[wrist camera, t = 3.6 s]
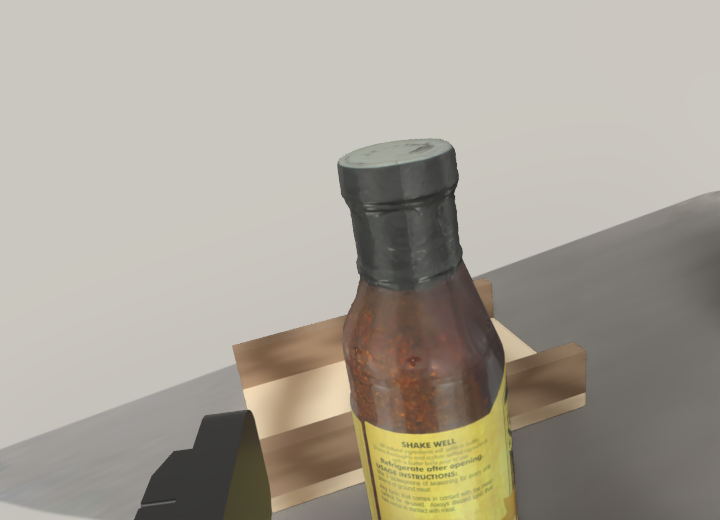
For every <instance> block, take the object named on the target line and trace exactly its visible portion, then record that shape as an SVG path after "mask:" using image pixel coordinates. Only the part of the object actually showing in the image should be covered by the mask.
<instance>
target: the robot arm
mask: <svg viewBox="0 0 720 520" xmlns="http://www.w3.org/2000/svg"><path fill="white" fill-rule="evenodd" d="M271 515H272V507H271V492H270V485H269V480H268V475H267V471H266V467H265V462H264V458H263V453H262V449H261V444H260V440H259V436H258V431H257V427H256V422H255V419H254V416H253V413H252V411H251V410H243V411H235V412H227V413H220V414H212V415H206V416H204V418H203V419H202V422H201V425H200V428H199V431H198V434H197V437H196V440H195V443H194V446H193V449H187V450H180V451H174V452H173V453H172V454H171V455H170V456H169V457H168V458H167V459H166V461H165V462H164V463H163V464H162V465H161V466H160V467H159V468H158V469H157V471H156V472H155V473H154V474H153V475H152V476H151V479H150V481H149V484H148V486H147V489H146V491H145V494H144V496H143V499H142V501H141V509H138V511H137V514H136V516H135V519H134V520H271Z"/></svg>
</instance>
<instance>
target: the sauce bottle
mask: <svg viewBox="0 0 720 520" xmlns="http://www.w3.org/2000/svg"><path fill="white" fill-rule="evenodd" d="M337 166H338V174H339V182H340V188H341V195H342V197H343V198H344V199H345V202H346V204H347V205H348V207H349V208H350V211H351V218H352V225H353V232H354V237H355V242H356V248H357V254H358V258H357V262H356V263H357V269H358V273H359V274H360V281H359V286H358V289H357V295H356V298H355V300H354V302H353V303H352V305H351V308H350V310H349V312H348V314H347V317H346V319H345V322H344V326H343V341H342V346H343V354H344V360H345V363H346V369H347V374H348V379H349V384H350V390H351V393H350V406H351V411H352V417H353V422H354V427H355V432H356V437H357V442H358V448H359V453H360V458H361V463H362V468H363V473H364V479H365V484H366V489H367V494H368V499H369V505H370V510H371V515H372V520H518V514H517V503H516V492H515V477H514V462H513V451H512V435H511V422H510V414H509V402H508V387H507V375H506V363H505V353H504V348H503V344H502V342H501V340H500V337H499V335H498V333H497V331H496V329H495V327H494V325H493V323H492V321H491V319H490V317H489V315H488V312H487V310H486V308H485V306H484V304H483V302H482V300H481V298H480V295H479V293H478V291H477V289H476V287H475V285H474V283H473V280H472V278H471V276H470V274H469V272H468V270H467V268H466V266H465V264H464V262H463V259H462V253H463V252H462V248H461V245H460V243H459V235H458V222H457V210H456V205H455V195H454V192H455V189H456V187H457V183H458V180H459V174H458V170H457V163H456V153H455V149H454V148H453V146H452V145H451V144H450V143H449V142H447V141H444V140H441V139H410V140H401V141H393V142H387V143H380V144H375V145H371V146H367V147H364V148H360V149H358V150H355V151H352V152H351V153H348V154H346V155H345V156H343V157H342V158H340V159H339V161H338V165H337Z"/></svg>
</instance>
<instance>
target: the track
mask: <svg viewBox="0 0 720 520" xmlns="http://www.w3.org/2000/svg"><path fill="white" fill-rule="evenodd" d="M473 283H474V285H475V287H476V289H477V291H478V293H479V295H480V298H481V300H482V302H483V304H484V306H485V308H486V310H487V312H488V315H489V317H490V319H491V321H492V323H493V325H494V327H495V329H496V331H497V333H498V335H499V337H500V340H501V342H502V344H503V348H504V353H505V363H506V375H507V387H508V402H509V414H510V422H511V431H513V430H516V429H519V428H522V427H525V426H528V425H531V424H533V423H536V422H539V421H542V420H545V419H548V418H551V417H554V416H557V415H560V414H563V413H566V412H568V411H571V410H574V409H577V408H580V407H583V406H585V397H586V350H584V349H583V348H582V347H580V346H579V345H577V344H576V343H575V342H572V343H569V344H565V345H562V346H559V347H556V348H553V349H549V350H546V351H543V352H540V353H536V352H535V351H534V350H533V349H531V348H530V347H529V346H528V345H526V344H525V343H524V342H523V341H522V340H520V339H519V338H518V337H517V336H515V335H514V334H513V333H512V332H510V331H509V330H508V329H507V328H506V327H504V326H503V325H502V324H501V323H499V322H498V321H497V320H496V319H494V318H493V302H492V283H490V282H489V281H487V280H486V279H485V278H482V279H478V280H474V281H473ZM346 317H347V315H345V316H341V317H337V318H333V319H330V320H326V321H322V322H319V323H315V324H311V325H307V326H303V327H300V328H296V329H293V330H289V331H285V332H281V333H277V334H274V335H270V336H267V337H263V338H259V339H255V340H251V341H248V342H245V343H240V344H237V345H233V346H232V347H233V351H234V355H235V359H236V363H237V367H238V371H239V375H240V379H241V383H242V387H243V391H244V396H245V400H246V404H247V408H248V410H251V411H252V413H253V416H254V419H255V422H256V427H257V431H258V436H259V440H260V444H261V449H262V453H263V458H264V462H265V467H266V471H267V475H268V480H269V485H270V492H271V507H272V511H273V513H274V512H277V511H280V510H283V509H286V508H289V507H292V506H295V505H298V504H301V503H303V502H306V501H309V500H312V499H315V498H318V497H321V496H324V495H327V494H330V493H333V492H335V491H338V490H341V489H344V488H347V487H350V486H353V485H356V484H359V483H362V482H365V479H364V473H363V468H362V463H361V458H360V453H359V448H358V442H357V437H356V432H355V427H354V422H353V417H352V411H351V406H350V393H351V390H350V384H349V379H348V374H347V369H346V363H345V360H344V354H343V346H342V341H343V326H344V322H345V319H346Z"/></svg>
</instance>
